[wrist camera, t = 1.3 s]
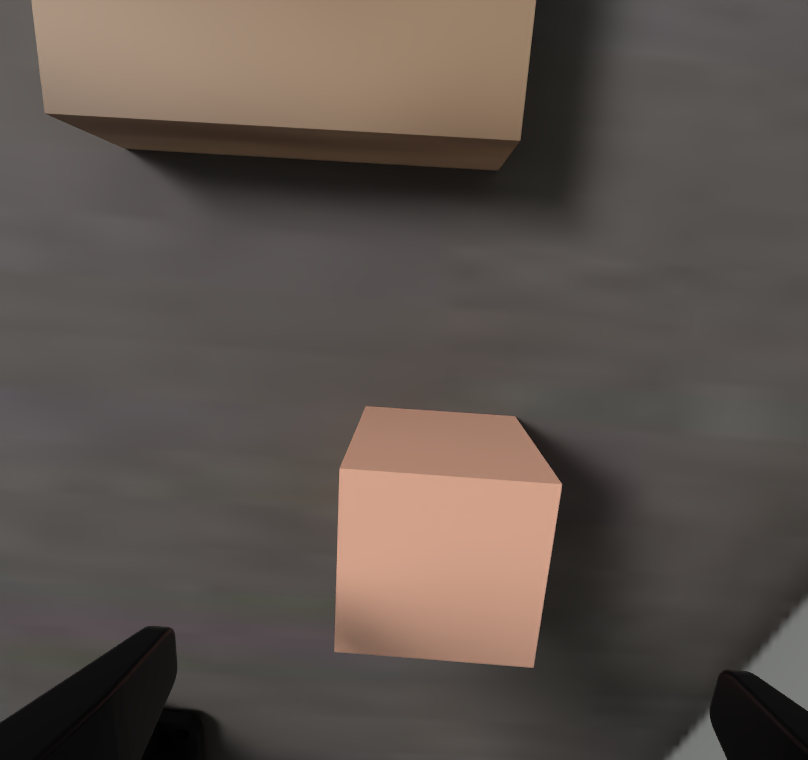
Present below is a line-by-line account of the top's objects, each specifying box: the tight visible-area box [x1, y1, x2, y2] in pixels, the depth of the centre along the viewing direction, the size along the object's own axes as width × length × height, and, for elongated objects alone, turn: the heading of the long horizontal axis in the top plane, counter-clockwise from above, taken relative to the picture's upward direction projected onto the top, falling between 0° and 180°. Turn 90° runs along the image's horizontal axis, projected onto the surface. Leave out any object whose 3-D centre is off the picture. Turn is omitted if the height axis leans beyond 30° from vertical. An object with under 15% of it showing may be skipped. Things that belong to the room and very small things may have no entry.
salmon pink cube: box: [334, 406, 562, 668], centre depth 11 cm, size 4×4×4 cm
